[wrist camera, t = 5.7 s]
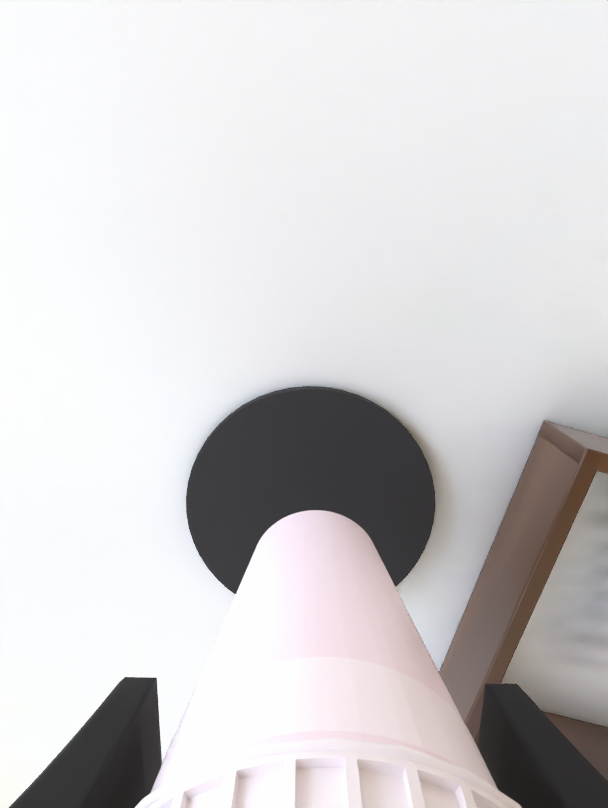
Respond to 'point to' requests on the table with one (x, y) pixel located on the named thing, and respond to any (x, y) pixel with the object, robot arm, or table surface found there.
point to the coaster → (309, 478)
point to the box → (525, 577)
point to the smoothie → (321, 691)
